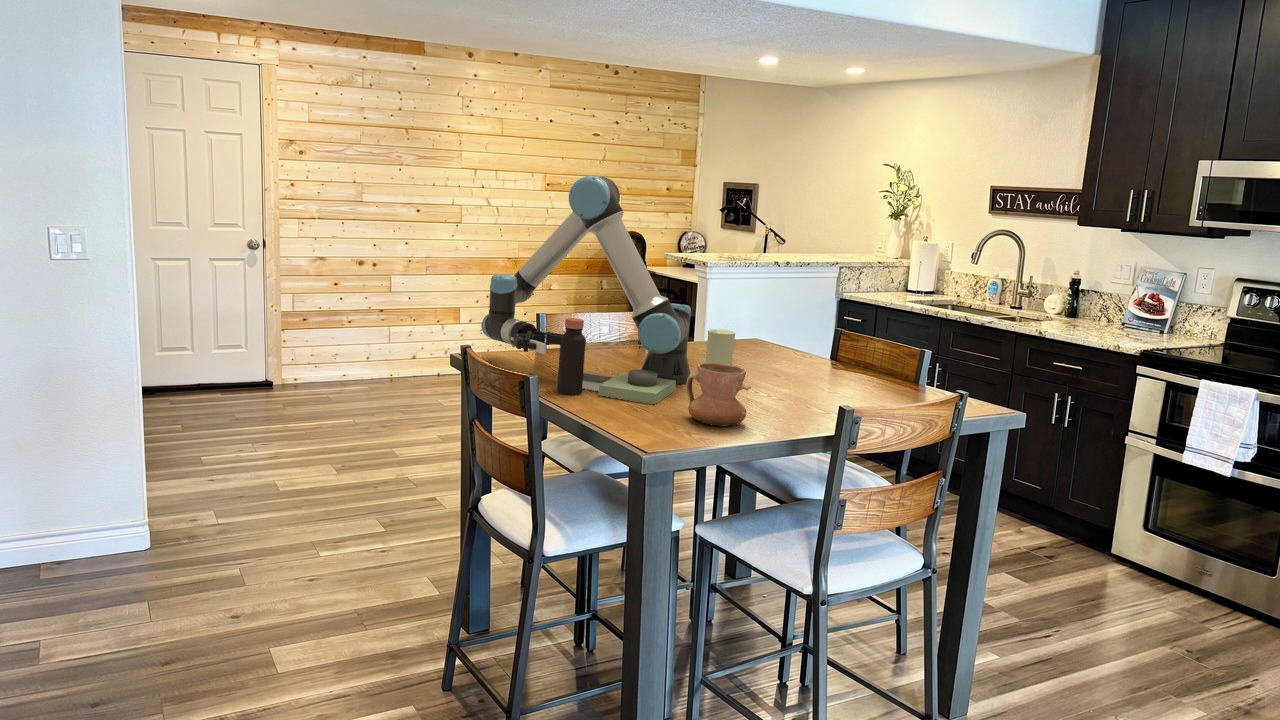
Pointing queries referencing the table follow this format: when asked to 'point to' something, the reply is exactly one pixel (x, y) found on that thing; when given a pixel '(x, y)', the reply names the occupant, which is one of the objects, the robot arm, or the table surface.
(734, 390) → the ceramic jug
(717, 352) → the can
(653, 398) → the green slab with knob
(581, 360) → the vinegar
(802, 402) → the table surface
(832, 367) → the table surface
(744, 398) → the table surface
